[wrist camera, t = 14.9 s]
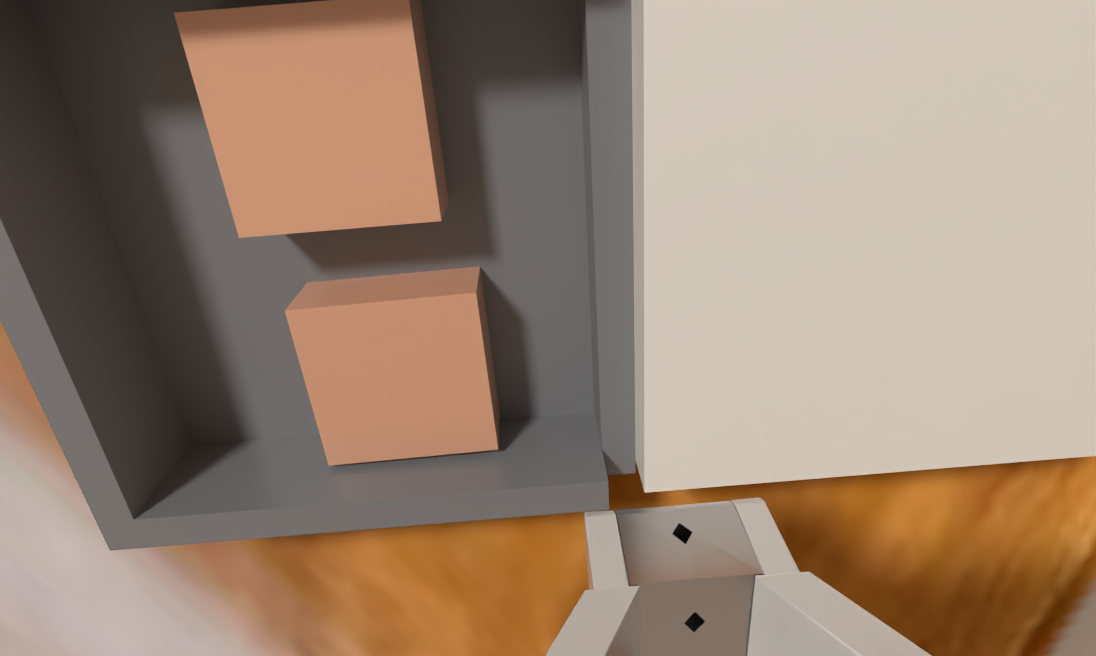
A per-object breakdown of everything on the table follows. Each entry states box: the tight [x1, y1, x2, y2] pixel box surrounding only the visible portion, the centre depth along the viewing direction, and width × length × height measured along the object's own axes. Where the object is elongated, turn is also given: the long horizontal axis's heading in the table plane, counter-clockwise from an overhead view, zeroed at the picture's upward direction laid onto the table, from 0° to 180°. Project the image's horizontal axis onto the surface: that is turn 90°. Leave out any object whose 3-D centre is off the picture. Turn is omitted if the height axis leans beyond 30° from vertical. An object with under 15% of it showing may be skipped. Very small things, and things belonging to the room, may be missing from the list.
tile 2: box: [285, 266, 500, 466], centre depth 19 cm, size 5×5×2 cm
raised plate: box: [631, 0, 1096, 493], centre depth 17 cm, size 14×14×4 cm
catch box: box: [0, 0, 636, 550], centre depth 17 cm, size 15×15×4 cm
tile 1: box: [174, 0, 449, 238], centre depth 16 cm, size 5×5×2 cm
